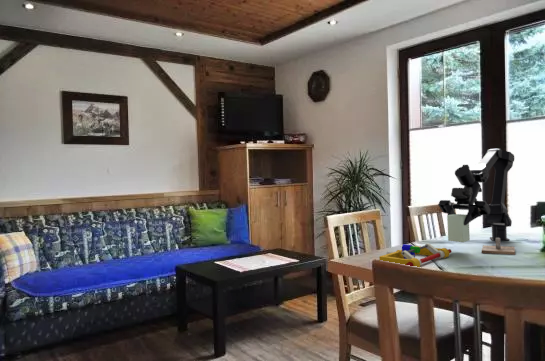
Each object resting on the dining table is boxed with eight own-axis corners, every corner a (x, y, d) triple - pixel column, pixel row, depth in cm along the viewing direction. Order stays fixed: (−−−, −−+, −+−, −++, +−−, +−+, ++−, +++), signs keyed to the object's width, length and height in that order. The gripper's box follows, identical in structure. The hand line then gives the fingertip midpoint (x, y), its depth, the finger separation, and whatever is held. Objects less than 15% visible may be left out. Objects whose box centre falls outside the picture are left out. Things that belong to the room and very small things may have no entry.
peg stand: (483, 247, 169) (482, 235, 169) (514, 249, 164) (514, 236, 164) (481, 253, 159) (481, 239, 159) (515, 254, 154) (514, 240, 154)
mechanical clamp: (454, 240, 158) (413, 253, 138) (454, 256, 158) (414, 272, 138) (409, 236, 172) (366, 247, 151) (410, 251, 172) (367, 265, 152)
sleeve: (454, 239, 168) (453, 214, 168) (469, 240, 163) (468, 214, 163) (448, 240, 165) (447, 215, 164) (463, 242, 160) (462, 216, 160)
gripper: (439, 180, 173) (425, 209, 167) (485, 179, 158) (472, 211, 152) (450, 198, 178) (437, 227, 172) (496, 198, 163) (483, 230, 157)
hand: (456, 224), depth 163 cm, fingers closed on sleeve, 6 cm apart
